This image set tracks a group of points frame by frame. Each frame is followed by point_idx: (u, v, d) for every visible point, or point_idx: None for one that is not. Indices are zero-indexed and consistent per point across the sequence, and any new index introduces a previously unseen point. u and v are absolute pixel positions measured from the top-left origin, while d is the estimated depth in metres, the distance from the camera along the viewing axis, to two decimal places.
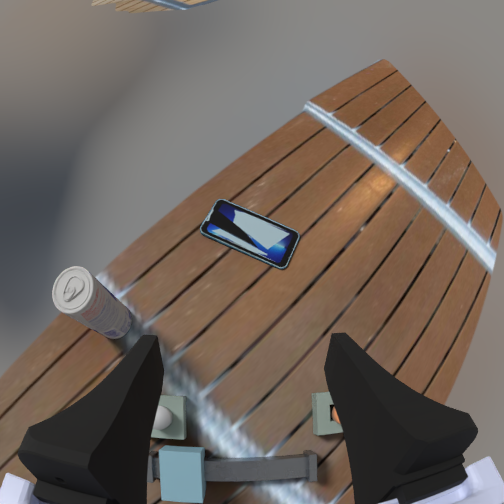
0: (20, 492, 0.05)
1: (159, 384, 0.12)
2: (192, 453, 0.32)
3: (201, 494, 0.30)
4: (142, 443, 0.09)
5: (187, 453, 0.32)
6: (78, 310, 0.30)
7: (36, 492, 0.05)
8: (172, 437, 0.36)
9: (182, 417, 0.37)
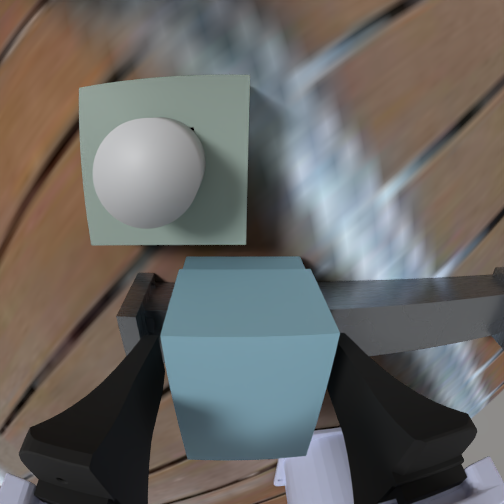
0: (20, 492, 0.05)
1: (160, 384, 0.12)
2: (307, 338, 0.09)
3: (307, 440, 0.11)
4: (143, 443, 0.09)
5: (286, 340, 0.09)
6: None
7: (38, 492, 0.05)
8: (203, 239, 0.12)
9: (244, 159, 0.11)
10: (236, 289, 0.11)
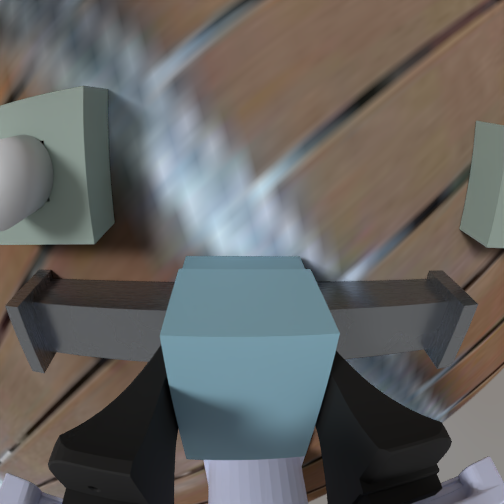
0: (20, 492, 0.05)
1: None
2: (307, 338, 0.09)
3: (306, 440, 0.11)
4: (170, 446, 0.09)
5: (286, 340, 0.09)
6: None
7: (66, 501, 0.05)
8: (61, 239, 0.11)
9: (82, 164, 0.10)
10: (236, 289, 0.11)
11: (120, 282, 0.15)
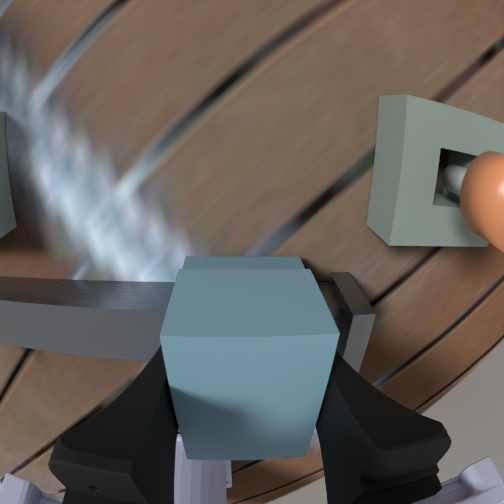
0: (20, 492, 0.05)
1: None
2: (306, 338, 0.09)
3: (307, 440, 0.11)
4: (170, 446, 0.09)
5: (285, 340, 0.09)
6: None
7: (66, 501, 0.05)
8: None
9: None
10: (236, 289, 0.11)
11: (26, 279, 0.14)
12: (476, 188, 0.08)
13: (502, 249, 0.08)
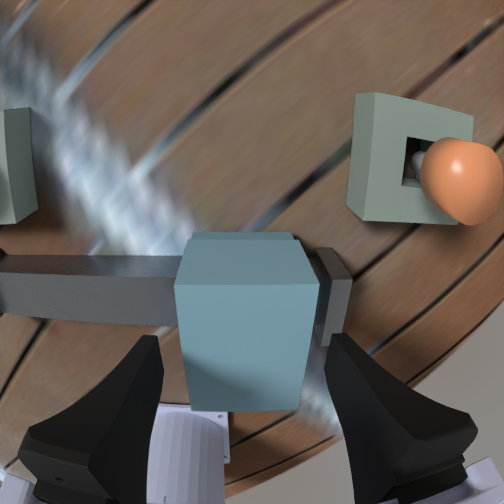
0: (20, 492, 0.05)
1: (159, 384, 0.12)
2: (292, 287, 0.11)
3: (298, 391, 0.14)
4: (142, 443, 0.09)
5: (275, 288, 0.11)
6: None
7: (36, 492, 0.05)
8: None
9: (5, 166, 0.12)
10: (235, 253, 0.13)
11: (45, 256, 0.17)
12: (432, 167, 0.11)
13: (457, 218, 0.10)
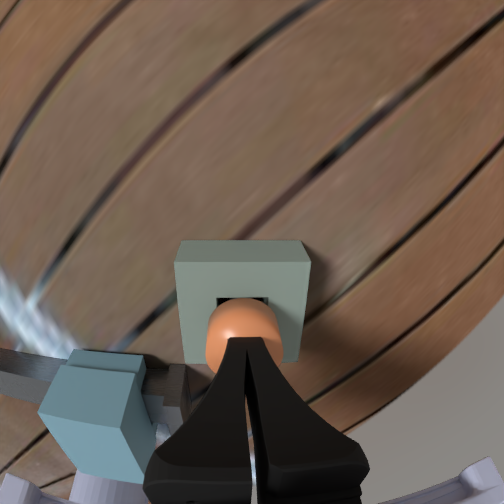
0: (20, 492, 0.05)
1: (245, 386, 0.12)
2: (103, 427, 0.13)
3: (143, 476, 0.15)
4: None
5: (92, 425, 0.13)
6: None
7: None
8: None
9: None
10: (83, 386, 0.15)
11: None
12: (207, 333, 0.14)
13: None
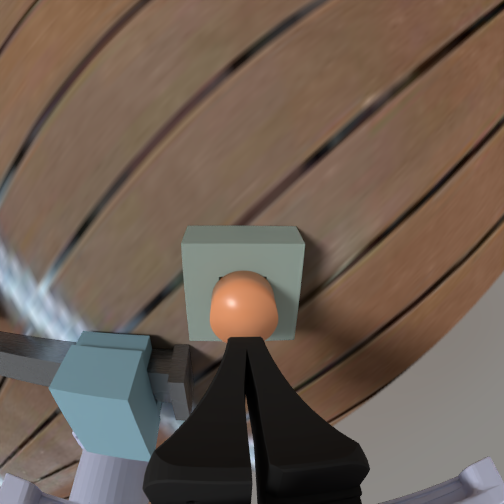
0: (20, 492, 0.05)
1: (245, 386, 0.12)
2: (111, 399, 0.14)
3: (148, 452, 0.17)
4: None
5: (102, 399, 0.14)
6: None
7: None
8: None
9: None
10: (92, 363, 0.17)
11: None
12: (211, 302, 0.16)
13: None
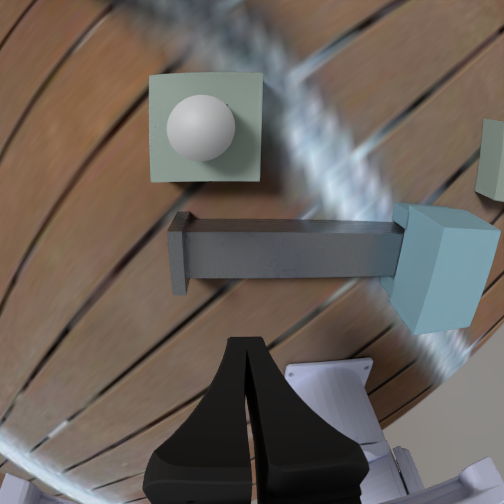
0: (20, 492, 0.05)
1: (245, 386, 0.12)
2: (491, 232, 0.15)
3: (473, 310, 0.17)
4: None
5: (485, 232, 0.15)
6: None
7: None
8: (231, 177, 0.17)
9: (259, 125, 0.16)
10: (447, 214, 0.17)
11: (253, 219, 0.21)
12: None
13: None
